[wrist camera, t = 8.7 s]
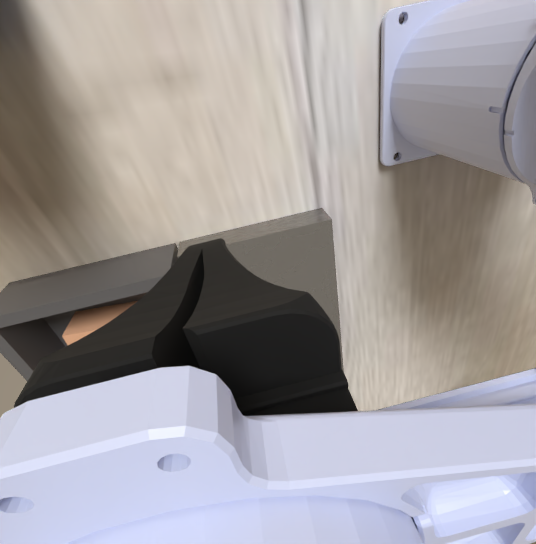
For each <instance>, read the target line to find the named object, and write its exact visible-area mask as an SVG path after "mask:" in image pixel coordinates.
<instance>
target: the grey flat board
mask: <svg viewBox="0 0 536 544" xmlns="http://www.w3.org/2000/svg"><path fill="white" fill-rule="evenodd" d="M220 238H221V239H223V240H225V244H226V247H227V248H228V250H229V251H230V253H231V254H232V255H233V256H234V257H235V258H236V260H237V261H238V262H239V263H241V264H242V265H243V266H244V267H245V268H246V269H247V270H249V271H250V272H251V273H253V274H254V275H256V276H257V277H259V278H261V279H263V280H265V281H267V282H269V283H272V284H274V285H277V286H281V287H284V288H288V289H293V290H299V291H305V292H308V293H310V294H311V296H312V297H313V298H314V299H315V300H316V301H317V302H318V303H319V305H320V306H321V307H322V308H323V310H324V311H325V312H326V314H327V315H328V317H329V318H330V319H331V321H332V323H333V324H334V326H335V328H336V330H337V333H338V337H339V341H340V352H341V364H342V370H343V358H342V345H341V333H340V320H339V307H338V294H337V281H336V268H335V255H334V243H333V230H332V219H331V218H330V217H329V215H328V214H327V213H326V212H325V211H324V210H323V208H320V209H316V210H312V211H308V212H304V213H300V214H295V215H291V216H287V217H283V218H279V219H274V220H270V221H266V222H262V223H258V224H254V225H249V226H245V227H241V228H237V229H233V230H228V231H224V232H220V233H216V234H212V235H208V236H203V237H199V238H195V239H191V240H187V241H182V242H180V243H179V249H178V255H177V257H178V258H179V257H180V256H181V255H182V253H183V252H184V251H185V250H186V248H187V247H188V246H191V245H195V244H199V243H203V242H207V241H211V240H216V239H220ZM343 372H344V371H343Z"/></svg>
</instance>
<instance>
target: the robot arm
mask: <svg viewBox="0 0 536 544" xmlns="http://www.w3.org/2000/svg"><path fill="white" fill-rule="evenodd" d="M401 13H402V14H403V15H404V22H403V23H402V24H400V23H399V21H398V19H399V15H400V14H401ZM397 152H398V157H397V158H396V159H394V155H395V154H396V153H397ZM439 154H440V155H443V156H446V157H449V158H452V159H455V160H458V161H461V162H464V163H467V164H469V165H472V166H475V167H478V168H481V169H484V170H487V171H490V172H493V173H496V174H499V175H501V176H504V177H507V178H510V179H513V180H516V181H519V182H522V183H525V184H527V185H528V186H529V187H530V189H531V192H532V196H533V204H536V0H429V1H424V2H420V3H415V4H411V5H406V6H401V7H397V8H393V9H390V10H388V11H387V12H386V13H385V14H384V16H383V18H382V29H381V112H380V162H381V163H382V164H383V165H385V166H392V165H396V164H401V163H405V162H409V161H413V160H418V159H422V158H426V157H430V156H435V155H439ZM533 542H536V368H533V369H530V370H526V371H522V372H518V373H515V374H511V375H507V376H503V377H500V378H496V379H492V380H488V381H484V382H481V383H477V384H473V385H469V386H466V387H462V388H458V389H454V390H450V391H447V392H443V393H439V394H435V395H432V396H428V397H424V398H420V399H417V400H413V401H409V402H405V403H401V404H398V405H394V406H390V407H386V408H383V409H379V410H375V411H358V410H357V408H356V405H355V403H354V401H353V399H352V396H351V394H350V392H349V390H348V382H347V379H346V377H345V375H344V372H343V370H342V364H341V352H340V341H339V337H338V333H337V330H336V328H335V326H334V324H333V323H332V321H331V319H330V318H329V317H328V315H327V314H326V312H325V311H324V310H323V308H322V307H321V306H320V305H319V303H318V302H317V301H316V300H315V299H314V298H313V297H312V296H311V294H310V293H308V292H305V291H299V290H293V289H288V288H284V287H281V286H277V285H274V284H272V283H269V282H267V281H265V280H263V279H261V278H259V277H257V276H256V275H254V274H253V273H251V272H250V271H249V270H247V269H246V268H245V267H244V266H243V265H242V264H241V263H239V262H238V261H237V260H236V258H235V257H234V256H233V255H232V254H231V253H230V251H229V250H228V248H227V247H226V244H225V240H223V239H221V238H220V239H216V240H211V241H207V242H203V243H199V244H195V245H191V246H188V247H187V248H186V250H185V251H184V252H183V253H182V255H181V256H180V257H179V258H178V260H177V261H176V262H175V263H174V264H173V266H172V267H171V268H170V269H169V271H168V272H167V273H166V274H165V275H164V276H163V277H162V278H161V279H160V280H159V281H158V283H157V284H156V285H155V286H154V287H153V288H152V289H151V290H150V291H149V292H148V293H146V294H145V295H144V296H143V297H142V298H141V299H140V300H138V301H137V302H136V303H135V304H134V305H132V306H131V307H129V308H128V309H127V310H125V311H124V312H123V313H121V314H120V315H118V316H117V317H116V318H114V319H113V320H111V321H110V322H108V323H107V324H105V325H104V326H102V327H100V328H99V329H97V330H95V331H94V332H92V333H90V334H88V335H87V336H85V337H83V338H81V339H79V340H78V341H76V342H74V343H72V344H70V345H68V346H66V347H64V348H61V349H59V350H57V351H55V352H53V353H51V354H49V355H47V356H45V357H43V358H41V359H40V361H39V363H38V364H37V366H36V368H35V370H34V371H33V373H32V375H31V376H30V378H29V380H28V382H27V383H26V385H25V387H24V388H23V390H22V392H21V394H20V395H19V397H18V399H17V400H16V402H15V405H14V408H13V409H11V410H9V411H7V412H5V413H4V414H3V415H2V417H1V418H0V544H530V543H533Z"/></svg>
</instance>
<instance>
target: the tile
mask: <svg viewBox="0 0 536 544" xmlns="http://www.w3.org/2000/svg"><path fill="white" fill-rule="evenodd" d="M136 302H137V301H134V302H128V303H122V304H116V305H111V306H105V307H99V308H93V309H87V310H82V311H76V312H75V313H74V315H73V317H72V319H71V321H70V322H69V324H68V326H67V328H66V330H65V331H64V333H63V335H62V337H63V339H64V340H65V342H66V343H67V345H70V344H72V343H74V342H76V341H78V340H79V339H81V338H83V337H85V336H87V335H88V334H90V333H92V332H94V331H95V330H97V329H99V328H100V327H102V326H104V325H105V324H107V323H108V322H110V321H111V320H113V319H114V318H116V317H117V316H118V315H120V314H121V313H123V312H124V311H125V310H127V309H128V308H129V307H131V306H132V305H134V304H135V303H136Z"/></svg>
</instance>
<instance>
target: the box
mask: <svg viewBox="0 0 536 544" xmlns="http://www.w3.org/2000/svg"><path fill="white" fill-rule="evenodd" d="M177 255H178V249H177V246H176V244H175V243H174V244H170V245H166V246H162V247H157V248H153V249H149V250H145V251H141V252H136V253H132V254H128V255H124V256H120V257H116V258H111V259H107V260H103V261H99V262H95V263H90V264H86V265H82V266H78V267H74V268H70V269H65V270H61V271H57V272H53V273H49V274H44V275H40V276H36V277H32V278H28V279H23V280H19V281H15V282H11V283H9V284H8V285H7V286H6V287H5V288H4V289H3V290H2V291H1V292H0V353H1V354H2V355H3V356H4V357H5V358H6V359H7V360H8V361H9V362H10V363H11V364H12V365H13V367H15V369H17V371H18V372H19V373H20V374H21V375H22V376H23V377H24V378H25V379H26V380H27V381H28V380H29V378H30V376H31V375H32V373H33V371H34V370H35V368H36V366H37V364H38V363H39V361H40V359H41V358H43V357H45V356H47V355H49V354H51V353H53V352H55V351H57V350H59V349H61V348H64V347H66V346H68V345H67V343H66V342H65V340H64V339H63V337H62V335H63V333H64V331H65V330H66V328H67V326H68V324H69V322H70V321H71V319H72V317H73V315H74V313H75V312H76V311H82V310H87V309H93V308H99V307H105V306H111V305H116V304H122V303H128V302H134V301H138V300H140V299H141V298H142V297H143V296H144V295H145V294H146V293H148V292H149V291H150V290H151V289H152V288H153V287H154V286H155V285H156V284H157V283H158V281H159V280H160V279H161V278H162V277H163V276H164V275H165V274H166V273H167V272H168V271H169V269H170V268H171V267H172V266H173V264H174V263H175V262H176V261H177V260H178V257H177Z"/></svg>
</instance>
